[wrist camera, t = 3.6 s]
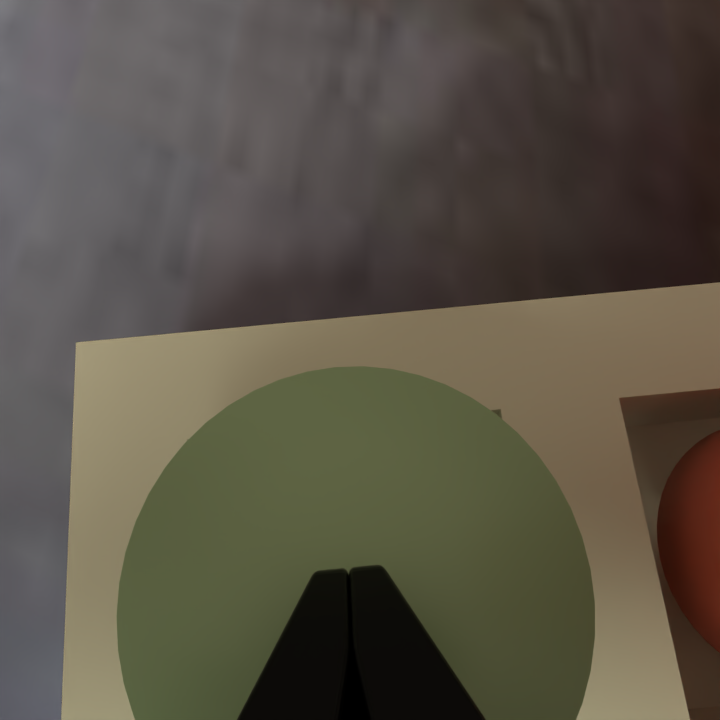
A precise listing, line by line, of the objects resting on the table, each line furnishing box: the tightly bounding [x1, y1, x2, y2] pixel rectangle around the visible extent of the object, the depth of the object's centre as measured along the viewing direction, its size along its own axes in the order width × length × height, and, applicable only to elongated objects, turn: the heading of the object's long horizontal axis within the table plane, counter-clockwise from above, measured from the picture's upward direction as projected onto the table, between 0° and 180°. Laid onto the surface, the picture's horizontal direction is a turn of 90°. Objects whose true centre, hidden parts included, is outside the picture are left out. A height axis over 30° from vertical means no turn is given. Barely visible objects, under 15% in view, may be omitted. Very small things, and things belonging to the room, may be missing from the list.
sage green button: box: [117, 366, 595, 720], centre depth 11 cm, size 6×6×6 cm
